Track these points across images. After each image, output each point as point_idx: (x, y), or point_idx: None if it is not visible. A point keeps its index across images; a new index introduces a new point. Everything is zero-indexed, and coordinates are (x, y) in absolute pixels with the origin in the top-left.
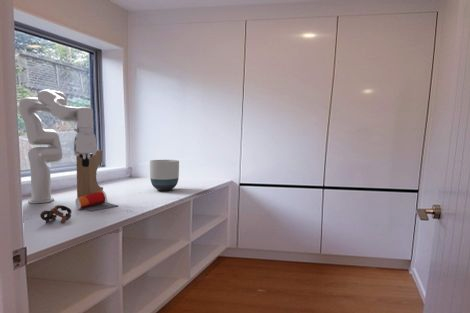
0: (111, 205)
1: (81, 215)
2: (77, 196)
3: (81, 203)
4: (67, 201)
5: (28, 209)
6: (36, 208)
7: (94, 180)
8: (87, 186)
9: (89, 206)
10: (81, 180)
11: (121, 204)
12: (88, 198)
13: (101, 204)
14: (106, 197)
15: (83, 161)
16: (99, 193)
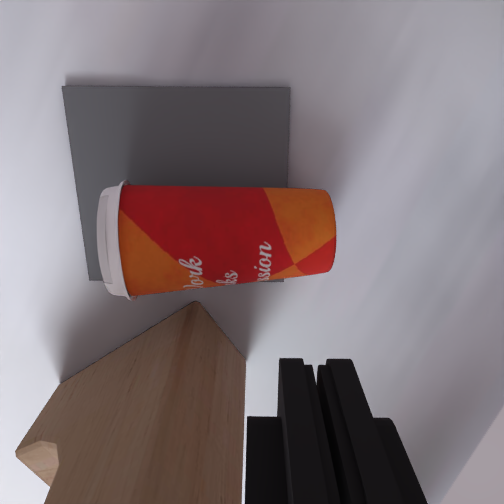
0: (104, 132)
1: (398, 20)
2: (244, 396)
3: (320, 192)
4: None
5: (484, 427)
6: (447, 421)
7: (86, 455)
8: (185, 393)
9: None
10: (213, 478)
11: (18, 137)
12: (261, 205)
13: None
14: (106, 188)
15: (414, 488)
16: (151, 222)
